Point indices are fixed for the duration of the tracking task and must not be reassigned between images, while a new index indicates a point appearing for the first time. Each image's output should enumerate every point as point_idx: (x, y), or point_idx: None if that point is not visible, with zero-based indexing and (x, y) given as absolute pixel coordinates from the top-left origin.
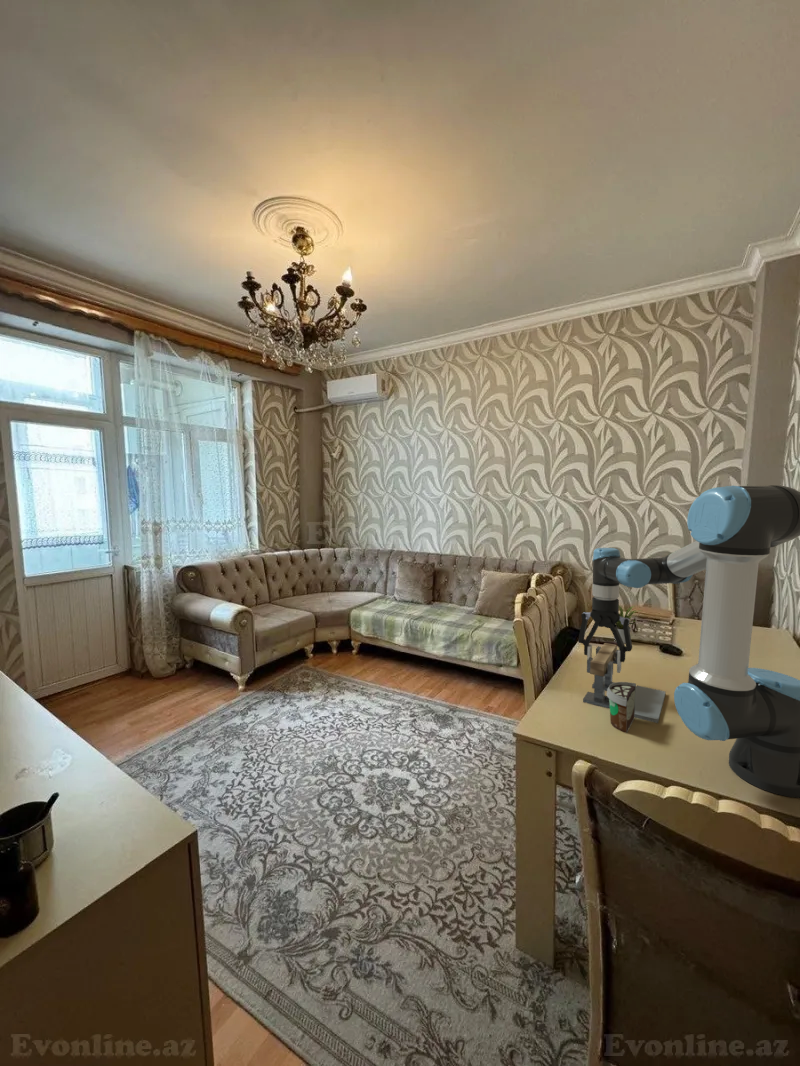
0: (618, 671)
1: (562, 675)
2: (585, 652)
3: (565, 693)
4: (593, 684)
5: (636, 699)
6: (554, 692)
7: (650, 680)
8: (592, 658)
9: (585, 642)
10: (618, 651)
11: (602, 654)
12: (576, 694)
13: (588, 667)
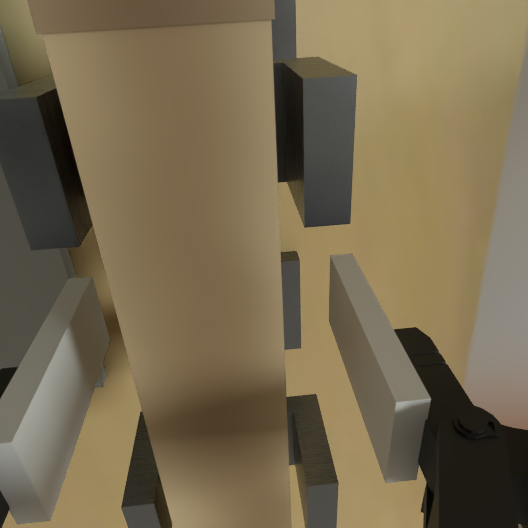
0: (75, 284)
1: (473, 303)
2: (420, 347)
3: (424, 65)
4: (294, 268)
5: (20, 220)
6: (496, 31)
7: (95, 474)
8: (304, 209)
9: (490, 447)
10: (11, 462)
11: (218, 361)
12: (357, 98)
13: (311, 63)
